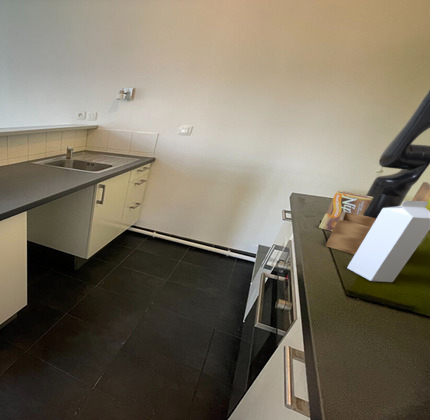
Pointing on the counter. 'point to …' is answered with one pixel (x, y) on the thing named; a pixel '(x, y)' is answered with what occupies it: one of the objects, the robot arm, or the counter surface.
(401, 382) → the counter surface
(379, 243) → the milk
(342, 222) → the bread box
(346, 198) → the candy box
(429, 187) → the lid
